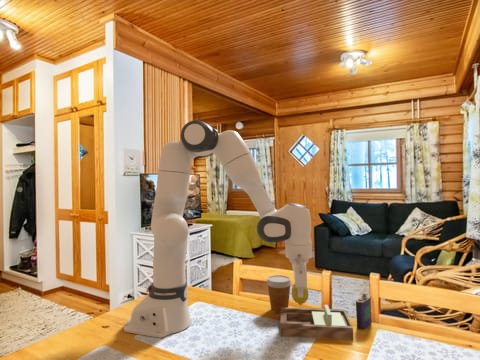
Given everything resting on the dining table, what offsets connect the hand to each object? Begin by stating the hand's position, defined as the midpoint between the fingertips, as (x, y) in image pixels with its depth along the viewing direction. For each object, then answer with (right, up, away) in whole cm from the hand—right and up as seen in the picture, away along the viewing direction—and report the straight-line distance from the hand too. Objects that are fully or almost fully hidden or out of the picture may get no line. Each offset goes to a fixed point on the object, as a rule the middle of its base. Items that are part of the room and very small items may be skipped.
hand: (299, 292), depth 102 cm
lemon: (0, -4, 0) cm, 4 cm away
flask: (+22, -11, 0) cm, 25 cm away
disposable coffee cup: (-5, -12, +13) cm, 18 cm away
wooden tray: (+5, -11, -1) cm, 12 cm away
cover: (+9, -9, -1) cm, 13 cm away
